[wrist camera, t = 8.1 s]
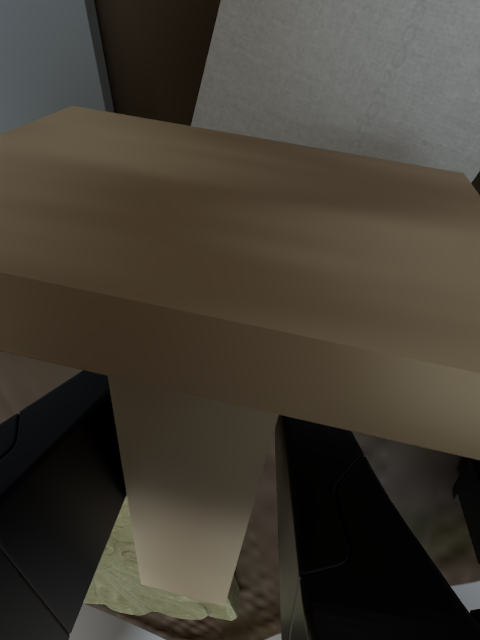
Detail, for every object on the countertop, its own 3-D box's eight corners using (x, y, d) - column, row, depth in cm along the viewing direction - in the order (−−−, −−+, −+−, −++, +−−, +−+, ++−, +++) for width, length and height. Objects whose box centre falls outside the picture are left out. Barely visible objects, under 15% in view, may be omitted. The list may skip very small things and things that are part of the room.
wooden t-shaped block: (463, 173, 7) (630, 404, 3) (314, 489, 14) (304, 677, 10) (72, 105, 7) (-229, 224, 3) (122, 442, 14) (43, 604, 10)
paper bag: (378, 313, 12) (733, -185, 6) (166, 231, 11) (316, -403, 5) (366, 257, 15) (595, -114, 9) (197, 190, 14) (317, -250, 8)
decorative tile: (187, 442, 24) (169, 496, 21) (243, 585, 35) (237, 634, 33) (-55, 437, 29) (-96, 481, 26) (63, 565, 40) (43, 607, 37)
